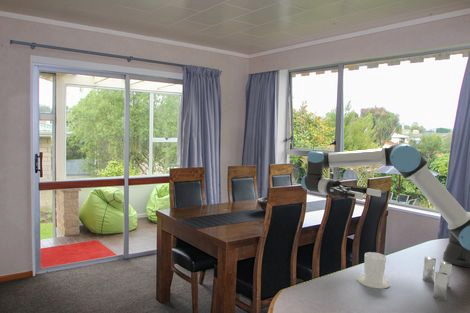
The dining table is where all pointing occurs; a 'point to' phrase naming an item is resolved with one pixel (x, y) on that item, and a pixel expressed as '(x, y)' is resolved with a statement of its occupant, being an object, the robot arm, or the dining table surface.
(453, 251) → the robot arm
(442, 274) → the cylinder
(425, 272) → the cylinder
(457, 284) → the dining table surface
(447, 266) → the cylinder
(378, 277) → the white cup
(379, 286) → the coaster
